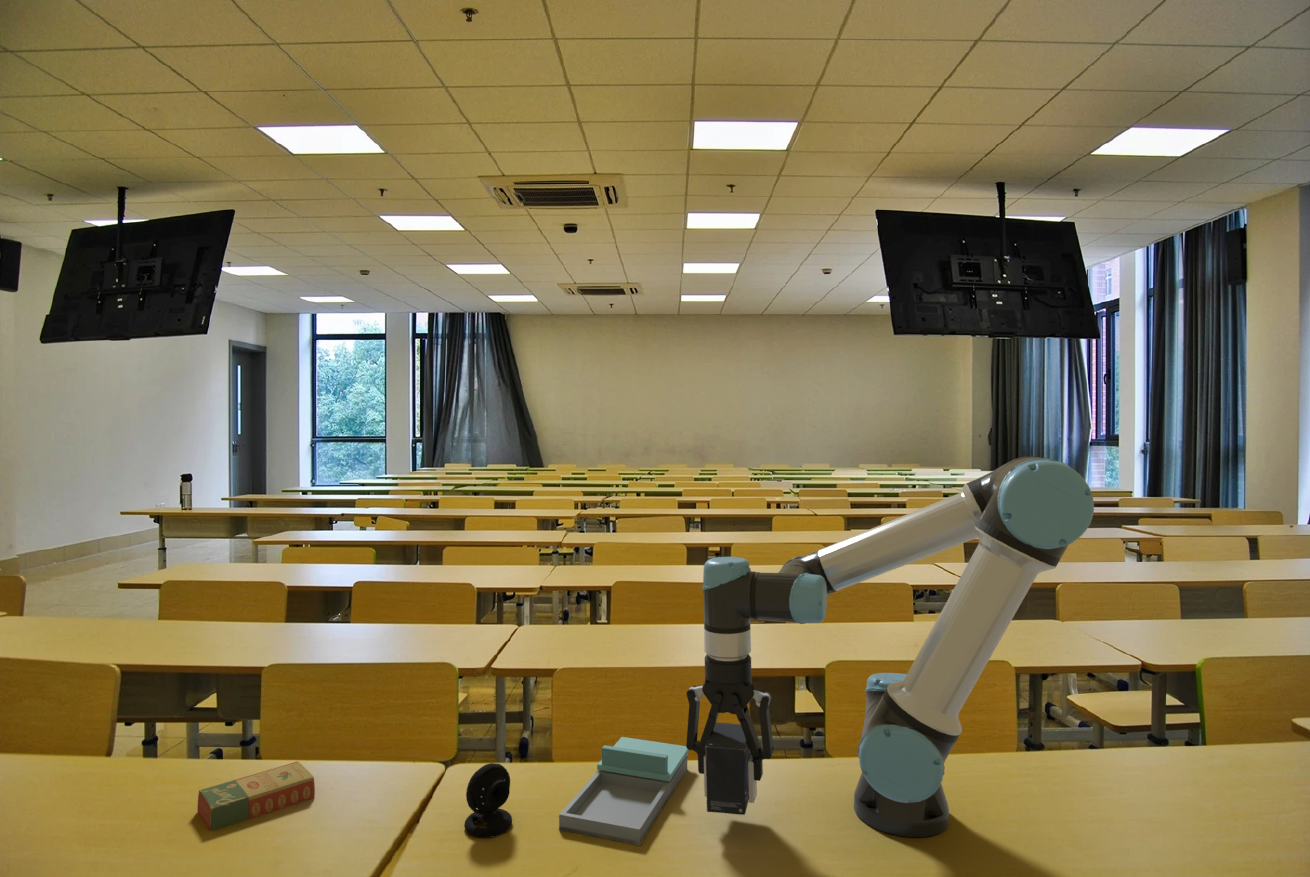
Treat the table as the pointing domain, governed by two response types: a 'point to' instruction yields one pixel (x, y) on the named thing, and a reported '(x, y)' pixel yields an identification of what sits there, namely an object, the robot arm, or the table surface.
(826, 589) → the robot arm
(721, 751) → the small box
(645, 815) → the tray
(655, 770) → the lid
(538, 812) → the table surface
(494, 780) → the webcam
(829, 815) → the table surface
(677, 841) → the table surface
